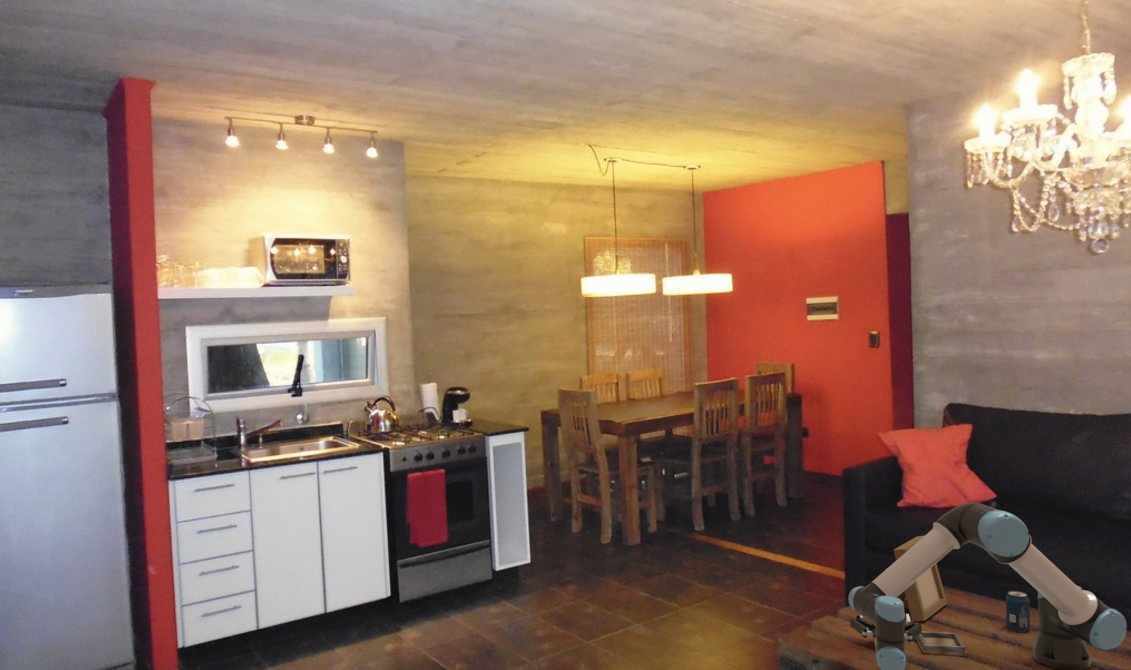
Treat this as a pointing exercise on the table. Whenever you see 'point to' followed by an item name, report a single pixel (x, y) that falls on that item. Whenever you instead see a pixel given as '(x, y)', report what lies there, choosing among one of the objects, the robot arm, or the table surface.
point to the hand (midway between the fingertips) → (884, 616)
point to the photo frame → (922, 589)
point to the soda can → (1017, 611)
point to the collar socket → (941, 643)
